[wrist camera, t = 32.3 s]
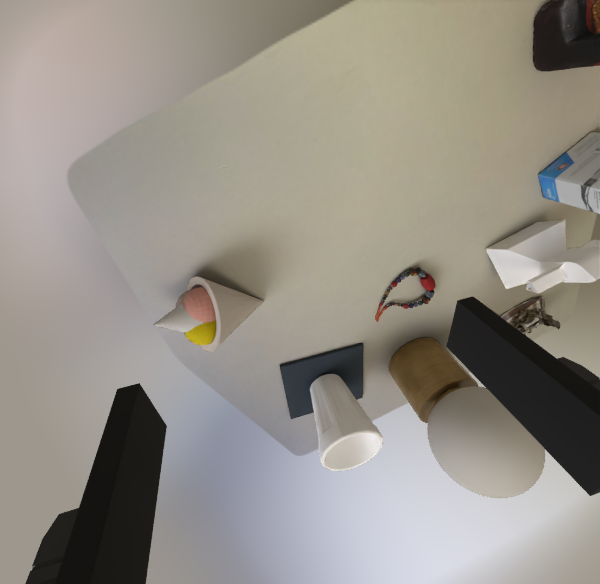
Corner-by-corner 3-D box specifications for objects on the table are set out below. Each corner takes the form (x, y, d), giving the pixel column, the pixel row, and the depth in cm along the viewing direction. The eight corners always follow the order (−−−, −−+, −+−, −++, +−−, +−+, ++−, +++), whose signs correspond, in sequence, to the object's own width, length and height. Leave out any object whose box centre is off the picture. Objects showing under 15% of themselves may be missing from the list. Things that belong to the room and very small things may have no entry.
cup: (310, 409, 58) (333, 478, 47) (290, 381, 52) (311, 453, 41) (356, 386, 58) (390, 451, 47) (341, 356, 52) (375, 422, 41)
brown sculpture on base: (484, 342, 59) (539, 315, 52) (474, 315, 64) (523, 287, 56) (523, 356, 63) (580, 333, 56) (511, 330, 67) (562, 305, 60)
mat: (290, 416, 58) (291, 419, 58) (279, 364, 50) (280, 367, 50) (361, 395, 61) (362, 397, 60) (362, 342, 52) (363, 344, 52)
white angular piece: (552, 247, 51) (648, 288, 40) (480, 284, 52) (554, 335, 41) (558, 204, 47) (668, 237, 35) (478, 246, 47) (561, 291, 36)
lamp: (368, 347, 53) (466, 500, 33) (439, 309, 53) (583, 441, 32) (389, 390, 62) (477, 531, 42) (450, 358, 61) (569, 485, 41)
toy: (252, 333, 46) (149, 363, 36) (241, 273, 46) (134, 287, 36) (290, 333, 39) (175, 370, 29) (277, 262, 39) (156, 276, 29)
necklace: (437, 290, 50) (443, 297, 48) (379, 324, 52) (383, 332, 50) (421, 257, 45) (428, 263, 44) (359, 296, 48) (363, 303, 46)
